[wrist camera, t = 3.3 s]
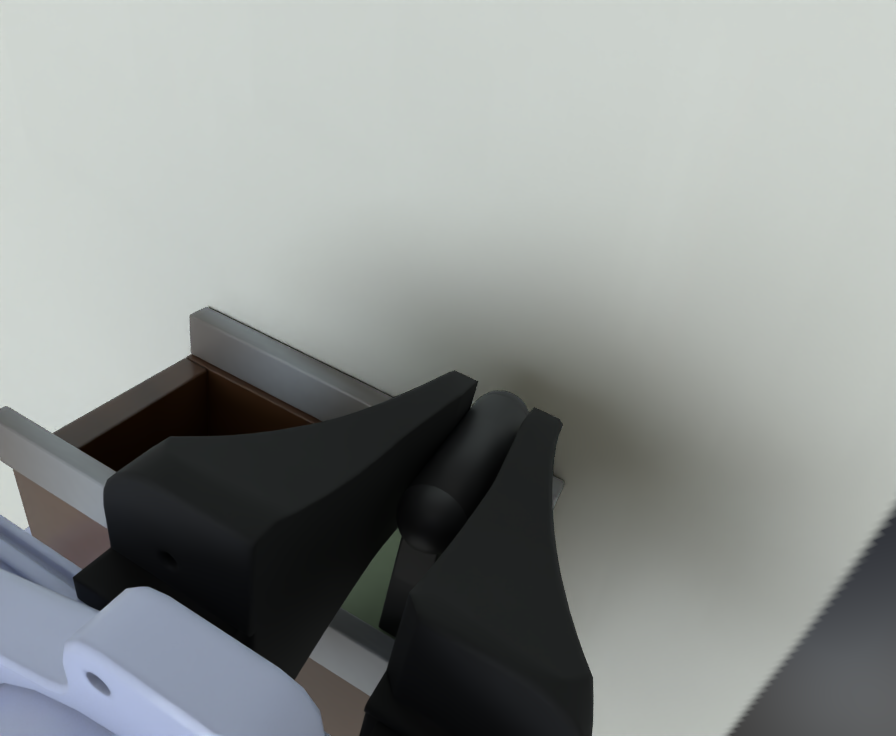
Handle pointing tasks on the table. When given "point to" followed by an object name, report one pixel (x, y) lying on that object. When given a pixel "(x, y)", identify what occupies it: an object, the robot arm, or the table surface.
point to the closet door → (437, 508)
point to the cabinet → (201, 414)
